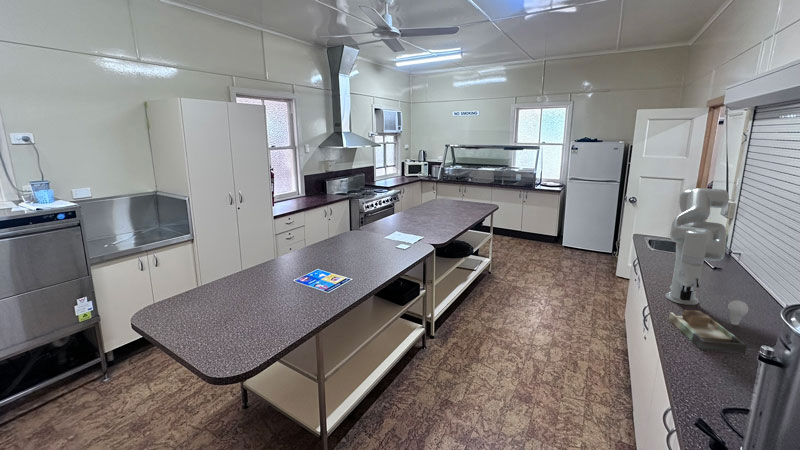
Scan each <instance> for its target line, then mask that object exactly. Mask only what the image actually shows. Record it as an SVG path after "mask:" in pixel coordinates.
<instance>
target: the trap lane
mask: <svg viewBox="0 0 800 450" xmlns="http://www.w3.org/2000/svg"><path fill="white" fill-rule="evenodd" d="M705 315H706V316H707V317H709V321H708V326H707V327H705V326H691V325H689V324H688V323H687V322H686V321H685V320H684V319H683V318H682V317H683V315H676V313H674V312H669V315H668V320H669V321H670V322H671V323H672V324H673V325H674V326H675V327H676V328H677V329H678V330H679V331H680V332H681V333H683V334H684V335H685V336H686V337H687V338H688V339H689V341H691V342H692V343H693V344H694V346H696V347H698V349H700V350H701V351H708V352H709V351H710V352H723V353H733V354H746V350H747V347H748V345H747V344H746V343H745V342H744V341H742V340H741V339H740V338H738V337H737V336H735V334H733V333H732V332H730V331H729V330H728V329H726V328H725V327H724V326H722V325H721V324H720V323H718V322H717V321H716V320H715V319H713V318H712V317H711V316H709V315H708V314H705Z"/></svg>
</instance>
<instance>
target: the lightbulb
mask: <svg viewBox="0 0 800 450" xmlns="http://www.w3.org/2000/svg"><path fill="white" fill-rule="evenodd" d="M727 309H728V311H729V314H730V324H731V325H732V326H738V325H740V323H741V320H742V318H743V317H744V316H745V315H747V314H748V311H749V307H748V305H747V304H746V303H745V302H744V301H741V300H731V301H730V302H729V303H728V305H727Z"/></svg>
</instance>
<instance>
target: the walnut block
mask: <svg viewBox="0 0 800 450" xmlns="http://www.w3.org/2000/svg"><path fill="white" fill-rule="evenodd" d="M706 315H707V314H705V313H703V312H702V311H701V310H694V309H693V310H692V309H683V313H682V316H683V317H682V318H683V319H684V320H685V321H686V322H687V323H688V324H689V325H691V326H705V327H707V326H708V321H709V317H710V316H709V317H707V316H706Z"/></svg>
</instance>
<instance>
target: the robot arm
mask: <svg viewBox="0 0 800 450" xmlns="http://www.w3.org/2000/svg"><path fill="white" fill-rule="evenodd" d="M729 200H730V195H729V192H728V191H727V190H726V189H720V188H719V189H718V188H695V189H694V188H693V189H686V190H683V191H682V192H681V194H680V196H679V200H678V201H679V209H680V213H679V214H678V215H677V216H676V217H674V219H673V221H672V223H671V227H670V240H671V241H673V242H674V243H676V244H675V262H674V269H673V274H672V280H671V285H669V289H670V291H668V292H666V293H665V298H666V299H667V300H669V301H671V302H673V303H677V304H680V305H686V306H696V305H698V304H699V299H698V298H697V297H696V294H697V290H698V288H700V286H701V282H702V278H703V265H704V261H705V260H707V261H715V262H716V261H718V262H719V261H722V260H723V259H724V258H725V255H726V249H727V247H726V246H727V230H726V227H725V225H724V224H721V223H720V222H709V221H706V220H707V219H708V218H709V217H710V215H711V208H712V209H713V208H714V209H724V208H726V207H727V205H728V203H729Z"/></svg>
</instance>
